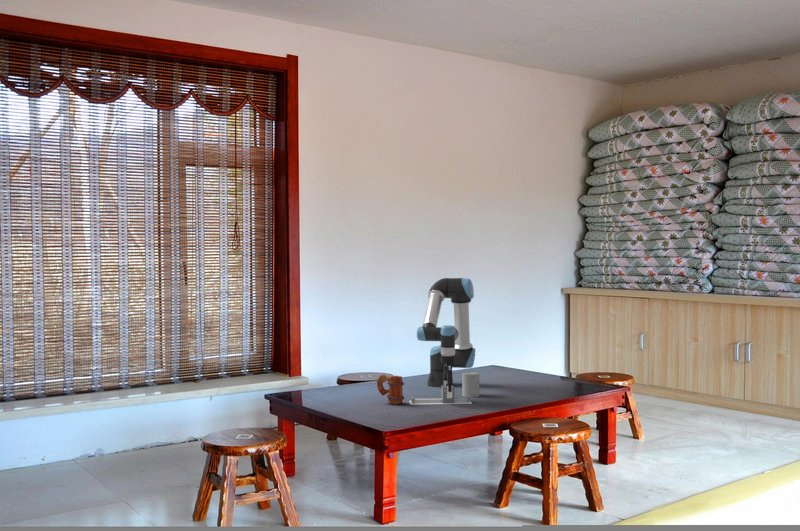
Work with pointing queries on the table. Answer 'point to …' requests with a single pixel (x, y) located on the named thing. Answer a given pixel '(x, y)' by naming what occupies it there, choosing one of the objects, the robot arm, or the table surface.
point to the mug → (391, 388)
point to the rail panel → (438, 401)
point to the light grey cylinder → (470, 384)
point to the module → (444, 394)
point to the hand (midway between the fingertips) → (448, 395)
